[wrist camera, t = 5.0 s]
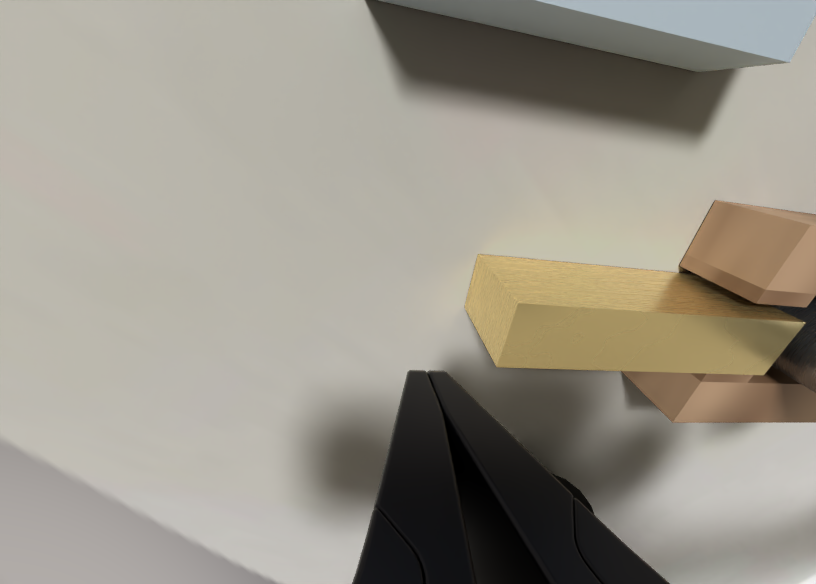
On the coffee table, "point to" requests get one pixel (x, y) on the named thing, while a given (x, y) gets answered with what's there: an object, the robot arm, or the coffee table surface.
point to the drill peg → (800, 347)
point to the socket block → (758, 282)
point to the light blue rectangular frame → (651, 27)
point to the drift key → (620, 319)
